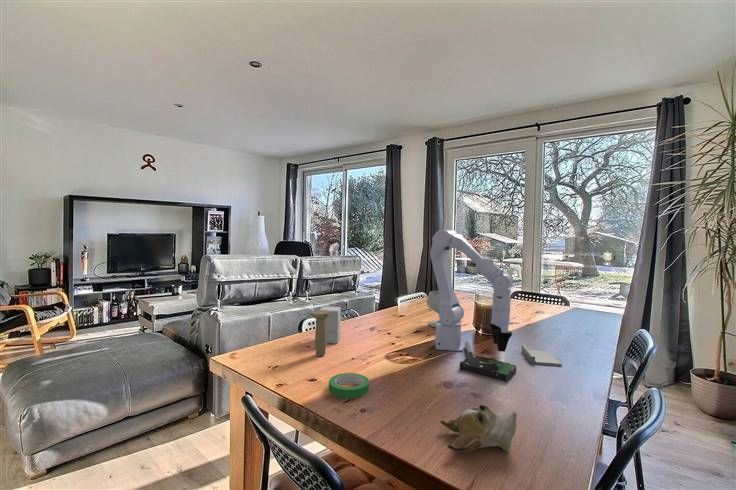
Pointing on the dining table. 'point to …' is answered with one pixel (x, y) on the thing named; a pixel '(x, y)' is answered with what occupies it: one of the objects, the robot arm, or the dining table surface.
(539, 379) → the dining table surface
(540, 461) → the dining table surface
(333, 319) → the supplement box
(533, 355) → the grey flat panel
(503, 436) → the ceramic sculpture
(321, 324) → the handle
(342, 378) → the tape roll
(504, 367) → the disk drive
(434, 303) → the chalice
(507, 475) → the dining table surface
